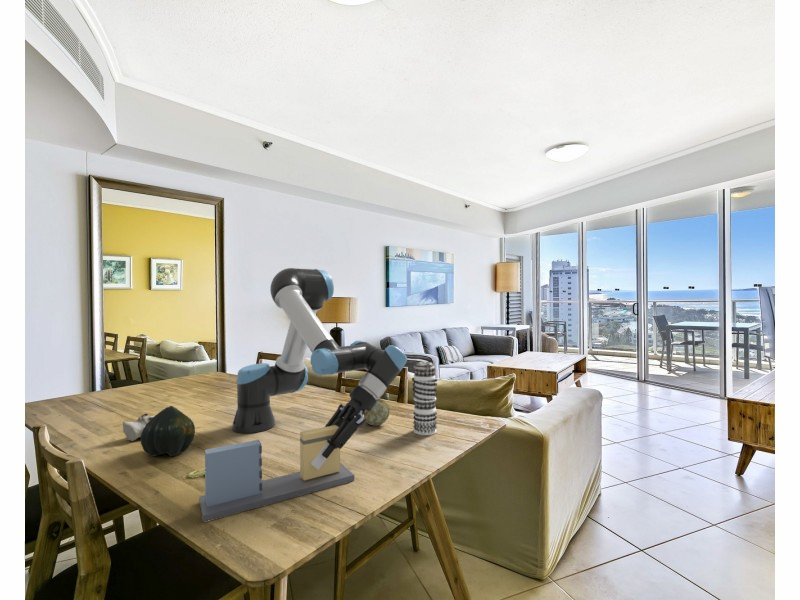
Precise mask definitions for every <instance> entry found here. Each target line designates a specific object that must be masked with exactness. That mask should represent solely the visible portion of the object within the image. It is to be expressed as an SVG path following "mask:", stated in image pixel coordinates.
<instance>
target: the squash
mask: <svg viewBox="0 0 800 600" xmlns="http://www.w3.org/2000/svg"><path fill="white" fill-rule="evenodd" d="M153 416H154V417H153V418H152V419H151V420H150V421H149V422H148V423H147V424H146V426H145V427H144V429H143V431H142V434H141V437H140V444H141V447H142V450H143V451H144V452H145V453H146V454H148V455H149V456H153V455H157V456H160V455H166V454H167V455H169V457H175V456H177V455H179V452H180V453H184V452H185V451H187V450H188V449H189V448H190V447H191V444H193V441H194V438H195V435H196V432H195V431H196V428H195V427H196V426H195V423H194V422H193V420H192V419H191V418H190V417H189V416H188V415H187V414H185V413H183V412H182V411H181V410H179V409H178V408H176V407H175V406H173V405H170V406H166V407H165V408H164V409H163V408H162V410H161V411H159V412H158V413H157V414H155V415H153Z"/></svg>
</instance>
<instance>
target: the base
mask: <svg viewBox="0 0 800 600" xmlns="http://www.w3.org/2000/svg"><path fill="white" fill-rule="evenodd" d="M351 482H355V474H354V473H353V472H352V471H351V470H350V469H348V468H347V467H346V466H345V465H344V464H342V463H341V462H340V471H339V472H336V473H332V474H328V475H324V476H320V477H316V478H312V479H308V480H305V481H304V480H303V479H302V478H301V476H300V471H296V472H292V473H289V474H284V475H280V476H276V477H271V478H268V479H263V480H262V493H259V494H255V495H252V496H248V497H244V498H240V499H236V500H232V501H229V502H225V503H221V504H217V505H213V506H209V507H207V506H206V502H205V494H203V495H199V496H198V498H199V499H198V503H199V502H200V504H199V508H200V507H201V509H200V513H202V514H201V517H202V518H203V519H202V522H204V523H206V522H205V521H207V522H209V521H208V520H211V521H213V520H212V519H215V520H217V519H216V518H218V519H221V518H220V517H222V518H225V517H228V515H229V516H231V515H232V514H233V515H236V514H239V512H240V513H243V512H246V510H247V511H249V510H250V509H251V510H254V509H257V507H258V508H261V507H264V505H265V506H269V505H272V504H275V502H276V503H279V502H283V501H286V500H290V499H294V498H298V497H301V496H304V495H308V494H311V493H314V492H317V491H318V492H319V491H322V490H325V489H329V488H332V487H336V486H340V485H344V484H347V483H351ZM268 504H269V505H268ZM253 508H254V509H253ZM251 510H250V511H251ZM242 511H243V512H242ZM235 513H236V514H235ZM224 516H225V517H224Z"/></svg>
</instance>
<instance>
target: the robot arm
mask: <svg viewBox="0 0 800 600" xmlns="http://www.w3.org/2000/svg"><path fill="white" fill-rule="evenodd" d="M334 287H335V286H334V281H333V278H332V276H331V274H330V273H329V272H328V271H326V270H323V269H317V268H313V269H312V268H311V269H310V268H295V267H288V268H284V269H282V270H280V271H279V272H277V273H276V275H274V277H273V278H272V281H271V283H270V296H271V298H272V301H273V302H274V304H275V305H276V306H277V307H278V308H279V309H282V310H283V311H284V313H285V315H286V316H287V317H288V319H289V320H290V321H289V326H288V329H287V334H286V337H285V341H284V343H283V344H284V345H283V350H282V353H281V355H279V356H278V357H277V358H276V360H275V363H274V365H271V366H270V364H269V363H264V362H263V363H255V364H250V365H246V366H243V367H242V368H240V369H239V370H238V372H237V378H236V389H237V390H236V391H237V396H236V397H237V402H236V403H237V407H236V408H237V409H236V412H235V415H234V418H233V421H232V430H233V432H234V433H235V432H236V433H240V434H251V433H253V434H254V433H260V432H264V431H267V430H270V429H272V428H274V426H275V425H276V424H275V423H276V419H275V415H274V413H273V410H272V407H271V397H274V396H280V395H281V396H282V395H286V394H293V393H296V392H299V391H301V390H303V389H304V388H305V386H306V384H307V383H308V380H309V375H308V373H309V372H308V371H309V370H308V367H307V366H306V362H305V361H304V358H305V354H306V351H307V348H308V349H309V350H310V353H311V355H310V359H309V360H310V365H311V369H312V371H313V373H315V374H316V375H318V376H332V375H334V374H341V373H344V372H352V371H358V370H366V371H367V372H366V373H365V374H364V375H363V376H362V378H361V379H360V380H359V382H358V385H356V386H355V387H354V388H353V390H351V392H350V393H349V398H350V400H349V401H348V402H347V403H346V404H345V405H343V404H342V403H340V404H339V405H338V407H337V409H336V411H335V412H334V414H332V415H331V418H330V419H329V420H328V422H327V423H326V424H325V426H324V427H328V426H333V425H336V426H338V427H339V428H338V430H337V431H336V433H335V434H334V436H333V437H332V439H331V440H327V442H328V443H327V442H326V444H325V445H324V446H323V448H322V449H321V450H320V451H319V453H318V454H317V455H316V456H315V458H314V459H313V460H312V462H311V463H310V464H311V465H313V466H314V467H315V468H316V469H318V470H319V468H320V467H321V466H322V465H323V463H324V462H325V461H326V459H327V458H328V457H329V456H330V454H331V453H332V452H333V450H334V449H337V448H339V449H340V450H342V448H343V447H344V446H345V445H346V443H347V442H348V441H349V440H350V438H351V437H352V436H353V435H354V434H355V432H356V431H357V430H358V429H359V428H360V427H361V426H362V425H363V424H364V423H365V422H366V420H365V418H364V412H365V410H366V411H370V410H371V409H372V408H373V407H374V405H375V404H376V403H377V402H376V399H381V397H382V396H383V395H384V393H385V392H386V390H387V389H388V388H389V387H390V385H391V384H392V383H393V381H394V380H395V379H396V378H397V376H398V375H399V374H400V372H401V371H402V370H403V368H404V367H405V365H406V364H407V361H408V357H407V355H406V353H404V351H403V350H402V349H400V348H399V347H397V346H396V345H393V344H391V345H388V346H387V347H385V348H384V349H381V348H379V347H376V346H374V345H372V344H371V343H369V342H367V341H363V340H355V341H353V342H352V343H350V345H345V346H340V345H339V344H338V343H337V342H336V341H335V339H334V338H333V337H332V335H331V334H330V332H329V331H328V329H327V328H326V327H325V325H324V324H323V323H322V321H321V320H320V318H318V316H317V313H318V311H319V310H322V308H323V306H324V304H325V302H327V301H330V300H331V299H332V298H333V295H334V291H335V289H334Z"/></svg>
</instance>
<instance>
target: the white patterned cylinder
mask: <svg viewBox="0 0 800 600" xmlns="http://www.w3.org/2000/svg"><path fill="white" fill-rule="evenodd" d="M413 369H414V370H413V372H414V374H413V377H412V378H411V380H412V382H413V383H411V384H412V391H413V393H412V397H413V401H414V408H413V415H414V416H413V419H414V420H413V433H414V434H416V435H420V436H431V435H435V434H436V433H437V432H438V431H437V429H438V428H437V426H438V425H437V424H438V421H437V417H438V416H437V407H436V401H437V397H436V396H437V391H438V389H437V388H436V386H438V383H437V381H438V378H436V366H434V365H433V362H431V361H419V362H416V363H415V365H414V366H413Z"/></svg>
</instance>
